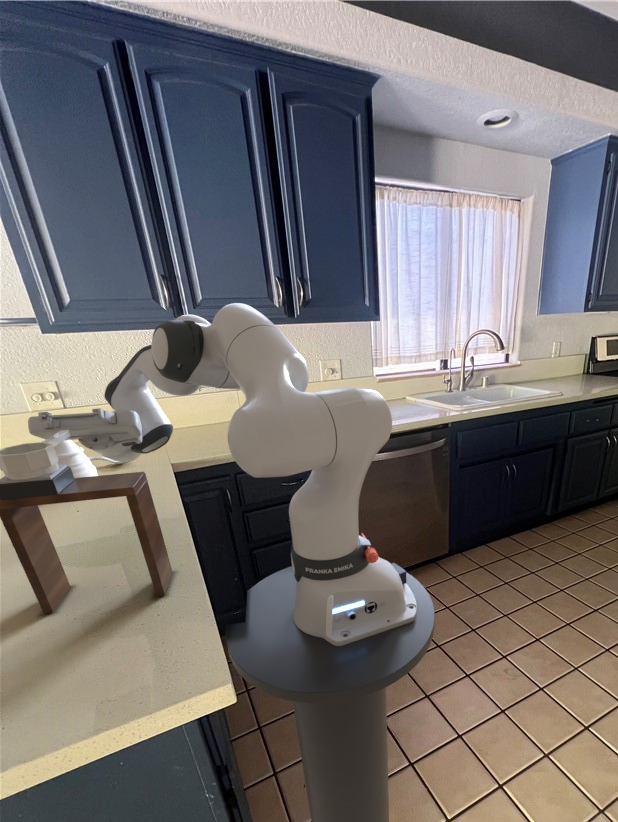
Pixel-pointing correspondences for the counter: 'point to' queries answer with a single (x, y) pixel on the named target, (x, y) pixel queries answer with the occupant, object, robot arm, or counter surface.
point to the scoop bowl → (32, 458)
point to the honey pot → (75, 459)
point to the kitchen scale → (37, 485)
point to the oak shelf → (39, 548)
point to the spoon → (105, 460)
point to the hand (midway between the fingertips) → (69, 413)
